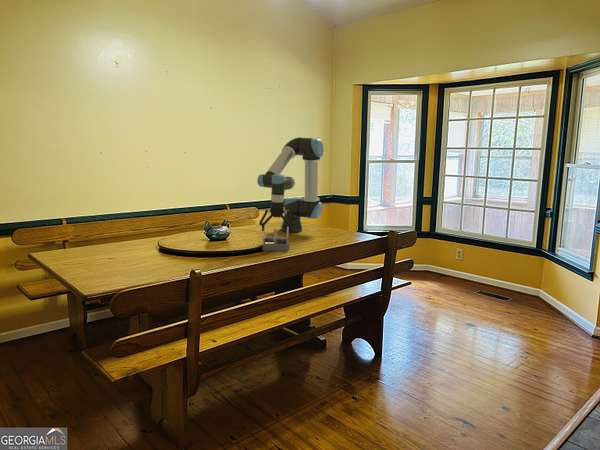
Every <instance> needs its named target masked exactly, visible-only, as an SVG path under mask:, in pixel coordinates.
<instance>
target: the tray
mask: <svg viewBox="0 0 600 450" xmlns="http://www.w3.org/2000/svg"><path fill="white" fill-rule="evenodd" d="M265 242H274V240H273V239H267V237H262V243H263V247H262V251H263V252H284V253H286V252H285V251H289V250H290V249H289V248H290V244H289V238H284V240H279V239H277V244H265Z"/></svg>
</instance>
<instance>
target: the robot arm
mask: <svg viewBox="0 0 600 450" xmlns="http://www.w3.org/2000/svg"><path fill="white" fill-rule="evenodd" d="M324 151H325V149H324V143H323V142H322V140H321V139H320V138H315V137H300V136H299V137H295V138H292V139H291V140H289V141H288V142H286V143H285V145H284V146H283V147H282V149H281V152H280V153H279V155H278V156H277V157H276V159H275V161H273V163H272V164H271V166H270V167H269V168H268V170H267V171H266V172H265V173H264V174H263V173H262V174H261V173H260V174H259V175H258V177H257V178H256V182H257V185H258V186H259V187H261V188H268V189H271V197H270V209H268V208H265V209H264V213H263V215H262V217H261V219H260V221H259V222H258V225H259V226H261V231H262V232H263V238H266V224H267V223H268V222H269V221H271V219H272V218H277V219H279V218H281V219H282V220H283V221H282V223H281V225H280V231H282V232H285V233H286V239H289V233H292V234H293V233H295V234H296V233H301V232H303V224H302V221H301V218H305V219H306V218H307V219H311V220H318V219H319V218H320V217H321V215H322V212H323V209H324V207H323V206H324V205H323V202H321V199H320V197H318V190H319V189H318V184H319V183H318V178H319V177H318V176H319V174H318V173H319V172H318V171H319V161H320V160H321V158H322V157H323V155H324ZM296 156H302V161H304V197H299V196H298V197H297V196H296V197H295V196H294V197H287V198H285V191H287V190H291V189H293V188H294V187H295V185H296V182H295V179H294V178H293V177H292V176H285V175H284V174H282V172H283V171H284V169H285V168H286V167H287V165H288V164H289V163H290V161H291V160H292V159H294V158H295V157H296ZM269 213H270V214H269ZM267 214H269V216H268V217H267ZM266 217H267V218H266ZM265 218H266V219H265Z"/></svg>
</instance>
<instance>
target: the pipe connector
mask: <svg viewBox="0 0 600 450" xmlns="http://www.w3.org/2000/svg"><path fill="white" fill-rule="evenodd" d="M266 238H267V239H273V240H274V244H277V239H279V240H284V239H285V237H284V236H280V235H278V229H277V228H274V229H273V235H266Z"/></svg>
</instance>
